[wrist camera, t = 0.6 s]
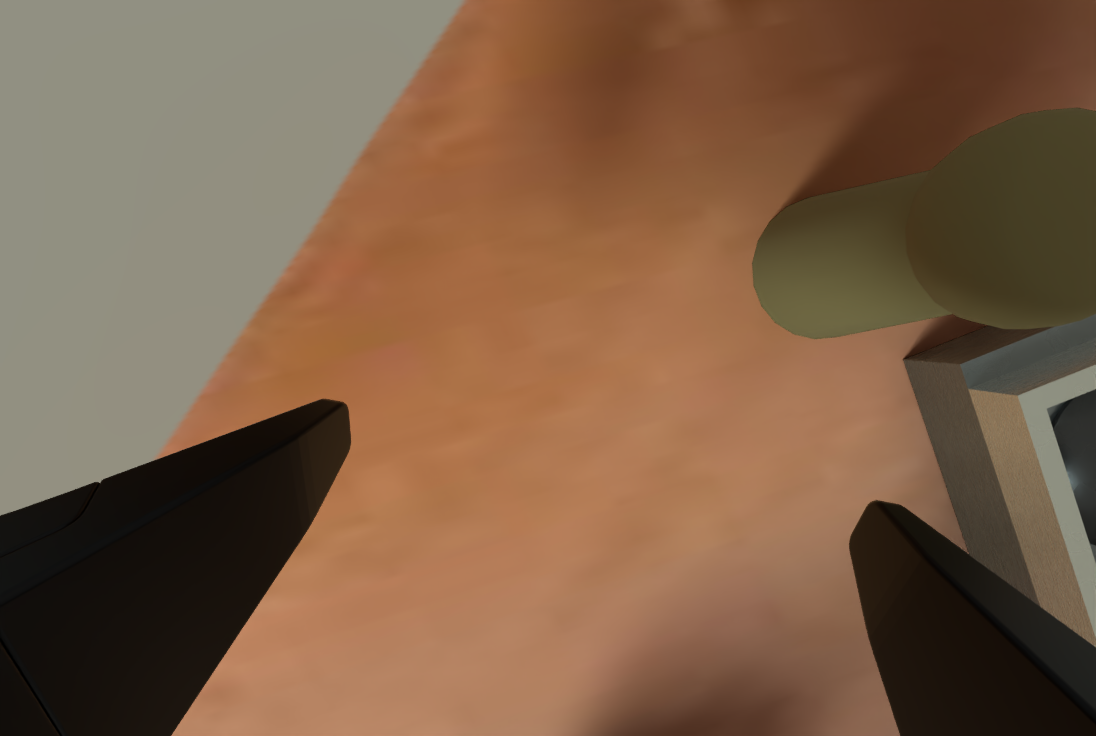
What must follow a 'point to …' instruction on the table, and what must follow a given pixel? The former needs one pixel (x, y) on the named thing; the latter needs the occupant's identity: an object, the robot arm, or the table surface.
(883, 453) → the table surface
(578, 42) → the table surface
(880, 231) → the olive knobbed post
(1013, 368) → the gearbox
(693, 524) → the table surface
